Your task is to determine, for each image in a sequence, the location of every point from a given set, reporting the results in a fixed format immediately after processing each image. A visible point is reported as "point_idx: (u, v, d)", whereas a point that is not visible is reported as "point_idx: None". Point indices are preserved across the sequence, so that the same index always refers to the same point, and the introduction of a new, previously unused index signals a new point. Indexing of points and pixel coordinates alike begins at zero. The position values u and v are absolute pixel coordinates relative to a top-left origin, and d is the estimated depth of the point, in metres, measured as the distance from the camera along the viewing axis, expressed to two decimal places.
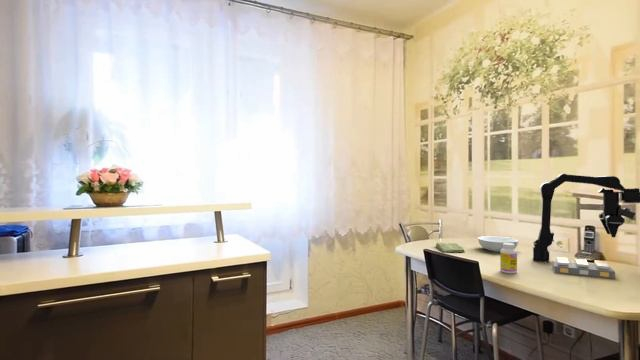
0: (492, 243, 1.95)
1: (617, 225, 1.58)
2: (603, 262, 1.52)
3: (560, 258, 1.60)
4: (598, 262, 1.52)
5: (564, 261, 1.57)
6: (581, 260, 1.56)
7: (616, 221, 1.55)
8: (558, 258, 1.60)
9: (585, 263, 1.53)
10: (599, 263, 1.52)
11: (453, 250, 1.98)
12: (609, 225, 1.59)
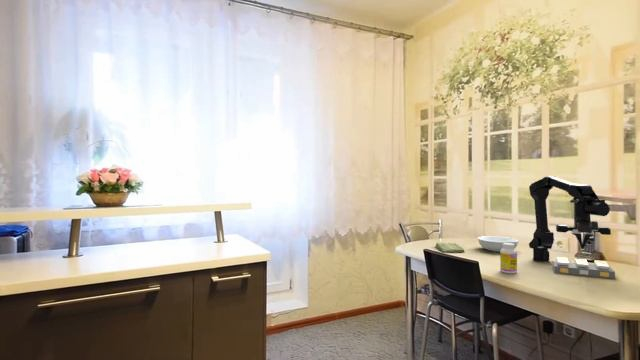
0: (492, 243, 1.95)
1: None
2: (603, 262, 1.52)
3: (560, 258, 1.60)
4: (598, 262, 1.52)
5: (564, 261, 1.57)
6: (581, 260, 1.56)
7: (556, 229, 1.57)
8: (558, 258, 1.60)
9: (585, 263, 1.53)
10: (599, 263, 1.52)
11: (453, 250, 1.98)
12: (575, 235, 1.56)
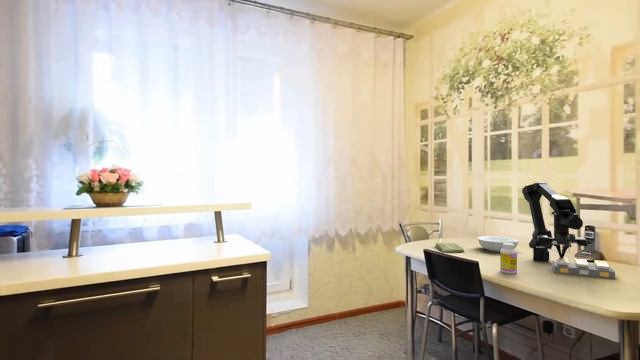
0: (492, 243, 1.95)
1: None
2: (603, 262, 1.52)
3: (560, 258, 1.60)
4: (598, 262, 1.52)
5: (564, 261, 1.57)
6: (581, 260, 1.56)
7: (537, 240, 1.65)
8: (558, 258, 1.60)
9: (585, 263, 1.53)
10: (599, 263, 1.52)
11: (453, 250, 1.98)
12: None
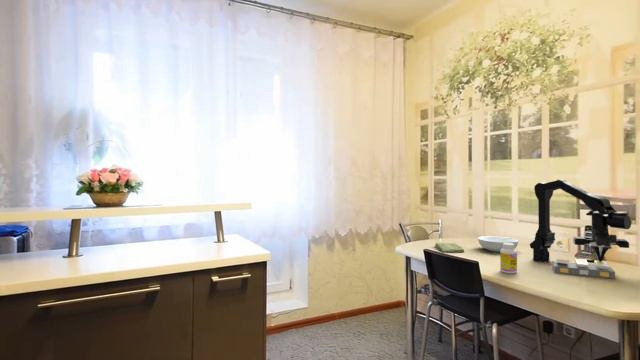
0: (492, 243, 1.95)
1: None
2: (603, 262, 1.52)
3: None
4: (598, 262, 1.52)
5: (564, 260, 1.57)
6: (581, 260, 1.56)
7: (574, 242, 1.58)
8: (558, 259, 1.60)
9: (585, 263, 1.53)
10: (599, 263, 1.52)
11: (453, 250, 1.98)
12: (593, 247, 1.56)
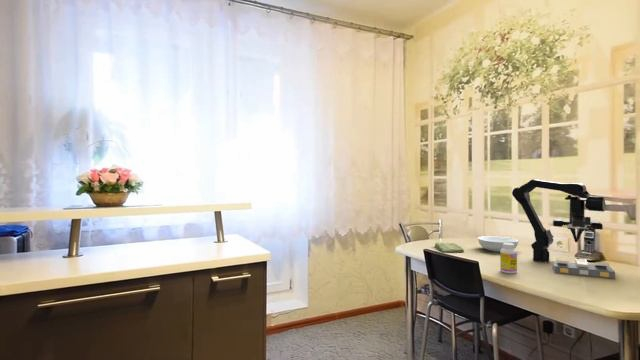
0: (492, 243, 1.95)
1: None
2: None
3: (560, 259, 1.60)
4: None
5: (564, 260, 1.57)
6: (581, 260, 1.56)
7: None
8: (558, 259, 1.60)
9: (585, 263, 1.53)
10: None
11: (453, 250, 1.99)
12: None
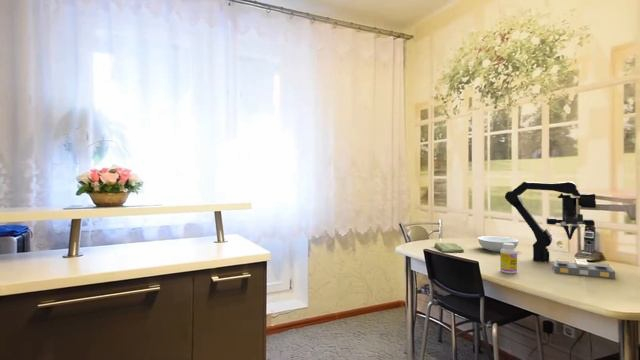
0: (492, 243, 1.95)
1: None
2: (603, 263, 1.52)
3: (560, 259, 1.60)
4: None
5: (564, 260, 1.57)
6: (581, 260, 1.56)
7: (546, 222, 1.74)
8: (558, 259, 1.60)
9: (585, 263, 1.53)
10: None
11: (453, 250, 1.99)
12: (563, 227, 1.72)
